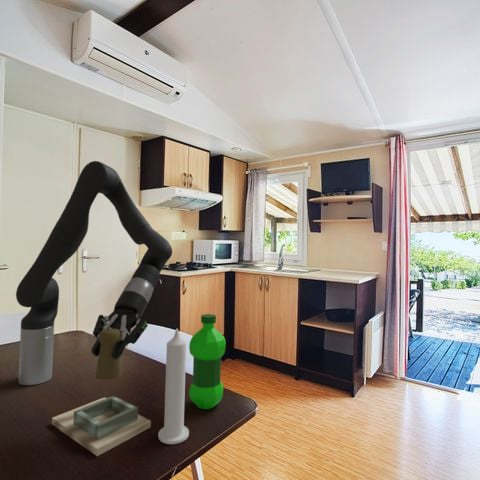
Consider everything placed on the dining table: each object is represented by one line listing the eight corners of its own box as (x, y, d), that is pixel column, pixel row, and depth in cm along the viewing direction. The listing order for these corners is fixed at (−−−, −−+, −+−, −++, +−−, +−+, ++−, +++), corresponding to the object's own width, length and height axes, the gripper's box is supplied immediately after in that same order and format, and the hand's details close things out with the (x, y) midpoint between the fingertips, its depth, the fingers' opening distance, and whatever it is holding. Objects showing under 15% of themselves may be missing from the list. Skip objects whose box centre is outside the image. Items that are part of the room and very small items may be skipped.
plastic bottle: (217, 416, 85) (219, 321, 85) (180, 409, 88) (183, 317, 88) (229, 399, 94) (231, 314, 95) (196, 394, 97) (198, 311, 98)
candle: (160, 427, 79) (164, 324, 80) (189, 426, 80) (192, 325, 80) (155, 445, 72) (159, 332, 73) (187, 444, 73) (191, 332, 73)
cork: (113, 380, 75) (114, 333, 75) (90, 378, 76) (91, 331, 76) (127, 371, 81) (128, 327, 81) (105, 369, 82) (106, 325, 82)
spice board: (51, 424, 79) (52, 405, 79) (104, 402, 91) (104, 386, 91) (97, 456, 68) (97, 434, 68) (150, 427, 79) (151, 408, 79)
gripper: (106, 288, 88) (71, 344, 76) (153, 291, 84) (123, 351, 72) (118, 304, 93) (86, 360, 81) (162, 308, 89) (136, 367, 77)
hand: (104, 355), depth 77 cm, fingers closed on cork, 5 cm apart
